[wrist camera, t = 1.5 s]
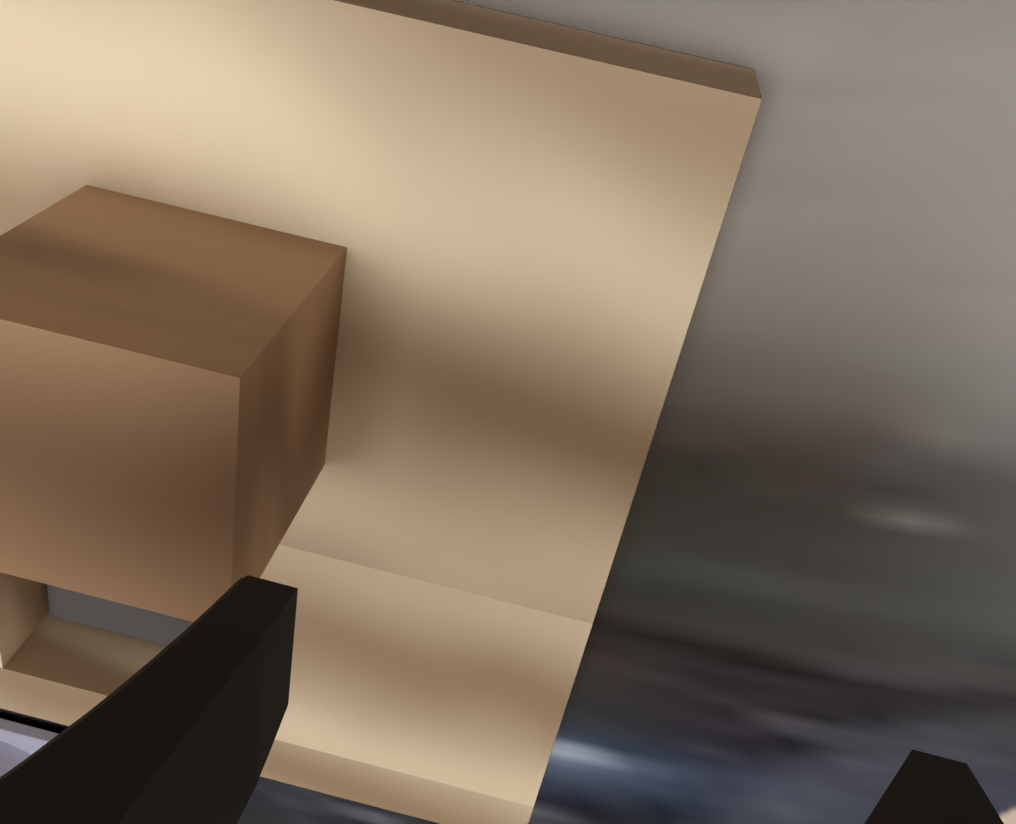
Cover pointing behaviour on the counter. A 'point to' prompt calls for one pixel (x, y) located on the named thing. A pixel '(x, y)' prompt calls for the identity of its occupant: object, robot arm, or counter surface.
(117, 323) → the block
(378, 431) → the board
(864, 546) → the counter surface
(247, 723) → the robot arm
